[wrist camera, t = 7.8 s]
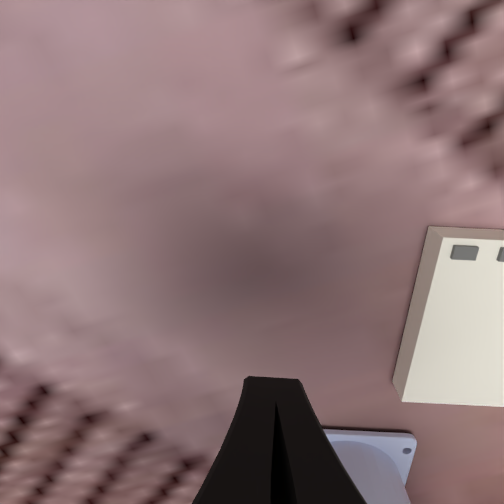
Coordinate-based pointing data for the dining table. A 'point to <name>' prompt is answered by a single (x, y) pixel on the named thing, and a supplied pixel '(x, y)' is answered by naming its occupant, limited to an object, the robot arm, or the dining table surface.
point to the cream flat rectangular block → (455, 321)
